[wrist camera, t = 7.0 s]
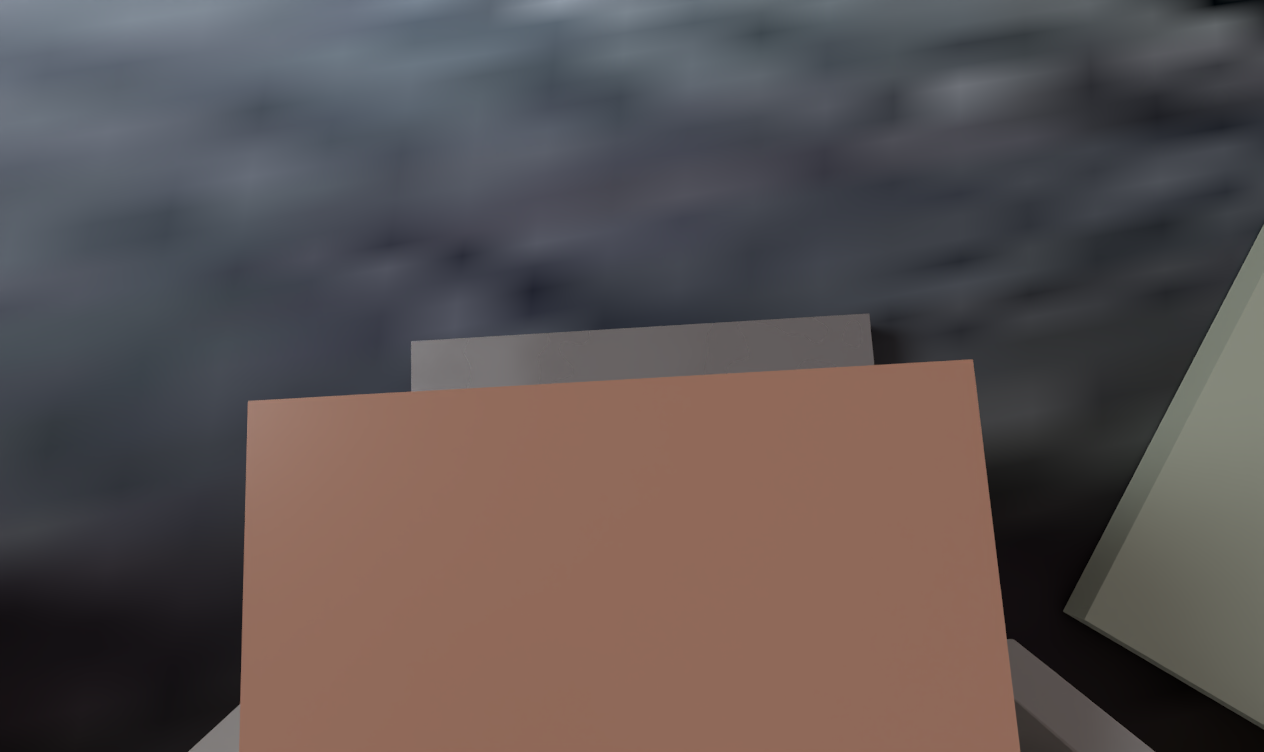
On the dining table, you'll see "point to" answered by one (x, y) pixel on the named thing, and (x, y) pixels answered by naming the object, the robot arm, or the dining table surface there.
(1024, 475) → the dining table surface
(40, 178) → the dining table surface
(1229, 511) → the pad
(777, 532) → the pink tall block
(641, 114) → the dining table surface
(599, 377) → the square base plate
